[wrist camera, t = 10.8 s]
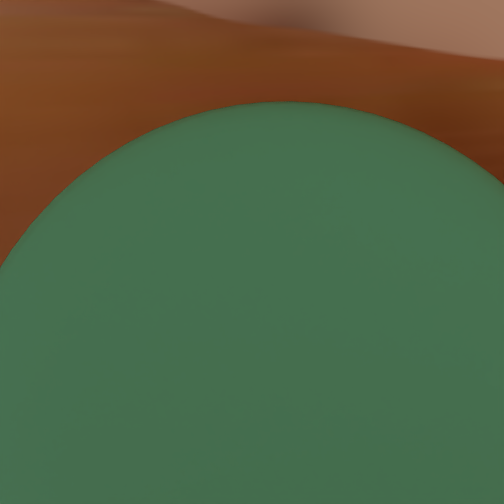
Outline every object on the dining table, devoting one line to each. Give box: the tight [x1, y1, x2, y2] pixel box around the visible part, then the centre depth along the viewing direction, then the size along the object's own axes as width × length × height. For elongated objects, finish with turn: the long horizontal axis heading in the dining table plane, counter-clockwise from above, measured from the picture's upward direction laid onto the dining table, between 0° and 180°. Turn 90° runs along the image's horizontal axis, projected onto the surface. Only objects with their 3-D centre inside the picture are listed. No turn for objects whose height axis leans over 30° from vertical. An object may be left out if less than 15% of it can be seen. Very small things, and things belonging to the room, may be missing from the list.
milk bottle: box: [0, 101, 504, 504], centre depth 12 cm, size 8×8×20 cm
